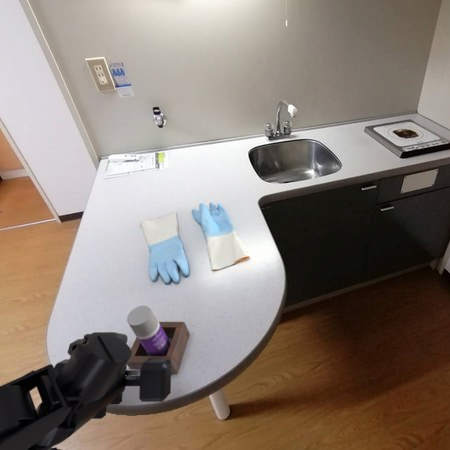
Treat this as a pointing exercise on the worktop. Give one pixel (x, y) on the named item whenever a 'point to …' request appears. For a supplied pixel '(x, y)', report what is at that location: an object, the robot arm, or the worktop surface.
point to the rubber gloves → (173, 247)
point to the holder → (175, 352)
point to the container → (148, 331)
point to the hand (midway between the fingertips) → (138, 361)
